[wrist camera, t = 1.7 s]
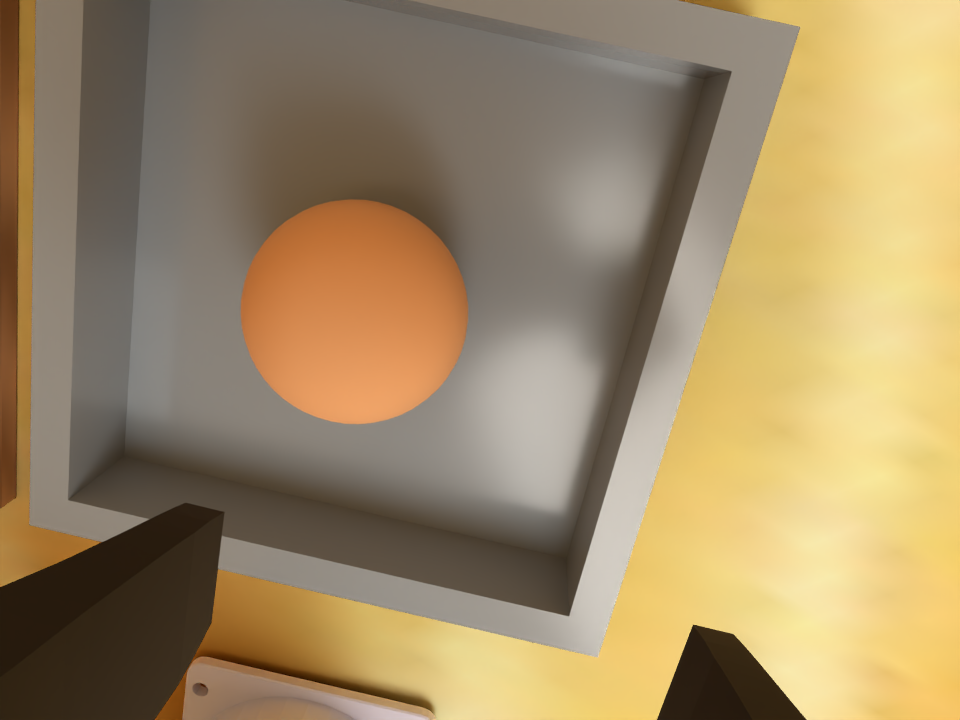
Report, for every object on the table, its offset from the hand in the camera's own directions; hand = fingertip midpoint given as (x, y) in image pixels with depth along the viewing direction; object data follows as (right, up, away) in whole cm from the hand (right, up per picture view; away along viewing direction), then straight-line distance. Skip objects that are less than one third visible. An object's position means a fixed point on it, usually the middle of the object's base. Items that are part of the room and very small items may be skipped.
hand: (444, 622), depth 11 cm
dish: (-2, +6, +8) cm, 10 cm away
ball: (-2, +5, +5) cm, 8 cm away
